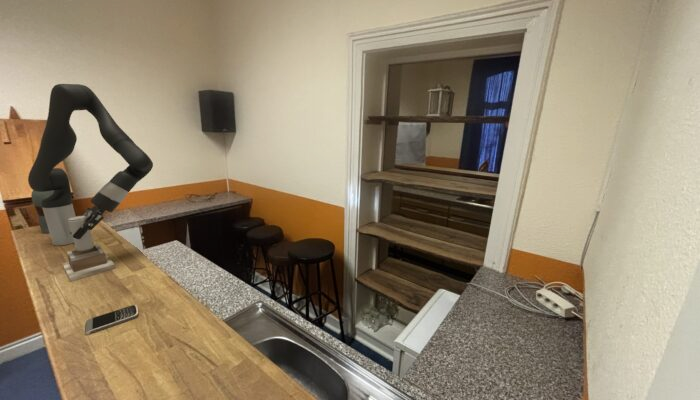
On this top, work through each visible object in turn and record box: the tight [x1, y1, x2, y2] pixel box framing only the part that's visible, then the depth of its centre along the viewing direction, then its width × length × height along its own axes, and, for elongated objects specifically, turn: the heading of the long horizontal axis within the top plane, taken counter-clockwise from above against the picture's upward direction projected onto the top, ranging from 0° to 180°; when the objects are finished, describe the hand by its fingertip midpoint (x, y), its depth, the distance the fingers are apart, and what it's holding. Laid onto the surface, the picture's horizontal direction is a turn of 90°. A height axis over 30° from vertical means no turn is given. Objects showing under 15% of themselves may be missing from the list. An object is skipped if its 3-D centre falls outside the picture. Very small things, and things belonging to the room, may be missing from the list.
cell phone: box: [84, 304, 139, 336], centre depth 74 cm, size 6×11×1 cm, turn 131°
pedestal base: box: [62, 243, 116, 282], centre depth 102 cm, size 16×12×7 cm
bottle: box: [30, 189, 54, 234], centre depth 136 cm, size 9×9×30 cm
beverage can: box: [68, 215, 95, 251], centre depth 99 cm, size 5×5×12 cm
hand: (74, 236), depth 98 cm, fingers closed on beverage can, 4 cm apart
